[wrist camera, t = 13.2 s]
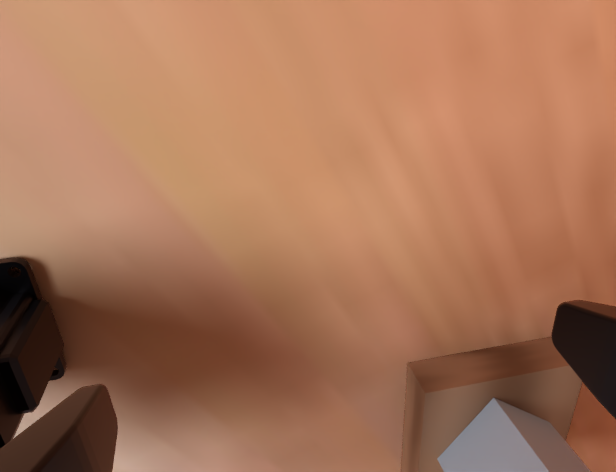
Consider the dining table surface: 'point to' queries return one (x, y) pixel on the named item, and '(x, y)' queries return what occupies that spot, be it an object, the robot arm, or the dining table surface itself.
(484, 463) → the tin
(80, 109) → the dining table surface
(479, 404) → the brown square tray
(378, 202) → the dining table surface
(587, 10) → the dining table surface
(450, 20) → the dining table surface
